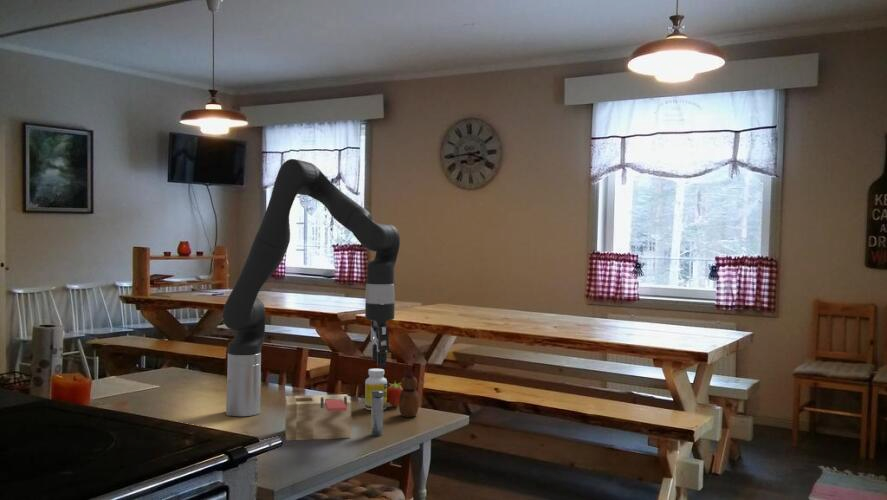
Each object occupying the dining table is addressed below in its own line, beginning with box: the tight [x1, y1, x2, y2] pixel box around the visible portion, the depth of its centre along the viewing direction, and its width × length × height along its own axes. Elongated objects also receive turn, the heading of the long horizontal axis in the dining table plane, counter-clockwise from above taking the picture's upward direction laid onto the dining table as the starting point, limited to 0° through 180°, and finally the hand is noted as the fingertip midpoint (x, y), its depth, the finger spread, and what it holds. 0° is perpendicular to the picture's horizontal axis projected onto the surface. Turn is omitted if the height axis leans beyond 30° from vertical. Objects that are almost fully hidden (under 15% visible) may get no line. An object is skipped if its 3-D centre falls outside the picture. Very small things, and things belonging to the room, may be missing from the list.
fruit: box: [387, 381, 403, 408], centre depth 229 cm, size 5×5×8 cm
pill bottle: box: [364, 368, 388, 411], centre depth 226 cm, size 6×6×12 cm
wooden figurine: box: [398, 362, 420, 418], centre depth 218 cm, size 7×6×15 cm
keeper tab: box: [325, 399, 347, 411], centre depth 187 cm, size 4×10×1 cm, turn 13°
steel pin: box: [370, 390, 384, 437], centre depth 197 cm, size 3×3×11 cm
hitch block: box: [284, 393, 352, 441], centre depth 195 cm, size 16×12×11 cm
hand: (379, 363), depth 197 cm, fingers open, 8 cm apart
